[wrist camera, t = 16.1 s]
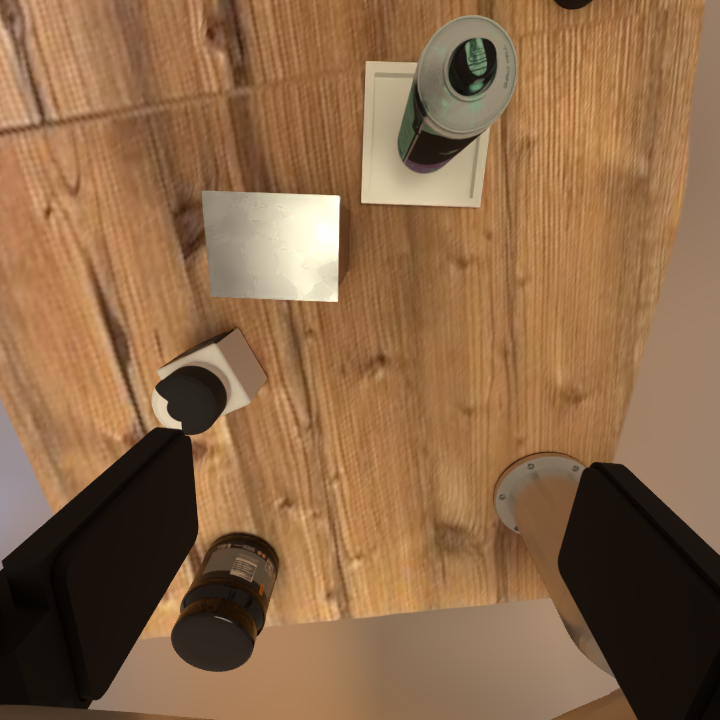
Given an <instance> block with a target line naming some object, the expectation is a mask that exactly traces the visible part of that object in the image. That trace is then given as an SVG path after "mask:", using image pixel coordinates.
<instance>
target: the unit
mask: <svg viewBox="0 0 720 720" xmlns="http://www.w3.org/2000/svg"><path fill="white" fill-rule="evenodd" d="M201 192H202V203H203V214H204V225H205V236H206V247H207V258H208V269H209V279H210V290H211V297H233V298H257V299H281V300H305V301H330V302H338V300H339V286H340V284H341V282H342V281H343V279H344V277H345V275H346V273H347V272H348V260H349V221H350V211H349V210H348V209H346V208H345V207H343V206H342V205H340V196H335V195H307V194H280V193H252V192H225V191H201Z"/></svg>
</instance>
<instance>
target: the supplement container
mask: <svg viewBox="0 0 720 720" xmlns="http://www.w3.org/2000/svg"><path fill="white" fill-rule="evenodd" d="M277 574H278V562H277V559H276V556H275V554H274V553H273V551H272V550H271V549H270V548H269V547H268V546H267V545H266V544H265V543H263V542H262V541H260V540H258V539H256V538H253V537H250V536H245V535H232V536H227V537H224V538H222V539H220V540H218V541H217V542H215V543H214V544H213V545H212V546H211V547H210V548H209V550H208V551H207V553H206V555H205V558H204V560H203V562H202V564H201V566H200V568H199V570H198V572H197V574H196V576H195V578H194V580H193V582H192V584H191V586H190V588H189V590H188V591H187V593H186V594H185V596H184V598H183V600H182V602H181V606H180V615H179V617H178V619H177V621H176V623H175V625H174V627H173V630H172V633H171V641H172V645H173V648H174V650H175V651H176V653H177V654H178V655H179V656H180V657H181V658H182V659H183V660H184V661H186V662H187V663H188V664H190V665H193V666H194V667H197V668H199V669H203V670H206V671H213V672H223V671H229V670H233V669H235V668H238V667H240V666H241V665H243V664H244V663H245V662H246V661H247V660H248V659H249V658H250V656H251V654H252V652H253V648H254V645H255V641H256V637H257V636H258V635H259V634H260V632H261V631H262V629H263V627H264V624H265V620H266V613H267V609H268V606H269V602H270V598H271V595H272V591H273V587H274V584H275V581H276V578H277Z"/></svg>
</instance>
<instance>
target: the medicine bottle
mask: <svg viewBox="0 0 720 720" xmlns="http://www.w3.org/2000/svg"><path fill="white" fill-rule="evenodd" d="M157 374H158V375H159V377H160V378H161V381H160V382H159V383H158V384H157V385H156V387H155V388H154V390H153V393H152V408H153V411H154V413H155V415H156V417H157V418H158V420H159V421H160V422H161V423H162V424H163V425H164V426H165V427H167V428H173V429H181V430H183V432H184V434H185V435H195V434H200V433H202V432H204V431H206V430H208V429H209V428H210V427H211V426H212V425H213V424H214V422H215V421H216V420H217V419H218V417H220V416H223V415H225V414H227V413H229V412H232V411H234V410H236V409H239V408H241V407H243V406H246V405H248V404H250V403H251V401H252V400H253V398H254V397H255V396H256V394H257V393H258V391H259V390H260V388H261V387H262V385H263V384H264V383H265V381H266V380H267V376H266V375H265V373H264V371H263V369H262V368H261V366H260V364H259V362H258V361H257V359H256V357H255V356H254V354H253V352H252V350H251V349H250V347H249V345H248V343H247V342H246V340H245V338H244V337H243V335H242V333H241V331H240V330H239V328H237V327H235V328H233V329H230V330H228V331H226V332H224V333H222V334H220V335H218V336H216V337H214V338H211V339H209V340H207V341H205V342H203V343H201V344H199V345H197V346H195V347H192V348H190V349H188V350H187V351H185V352H184V353H182V354H181V355H179V356H178V357H176V358H175V359H173V360H172V361H170V362H169V363H167V364H166V365H164V366H163V367H161V368H160V369H158V371H157Z"/></svg>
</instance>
